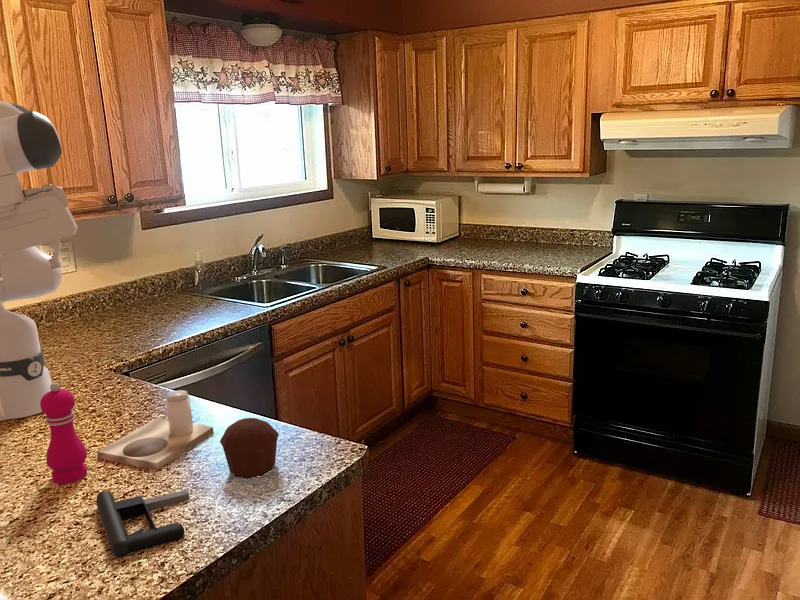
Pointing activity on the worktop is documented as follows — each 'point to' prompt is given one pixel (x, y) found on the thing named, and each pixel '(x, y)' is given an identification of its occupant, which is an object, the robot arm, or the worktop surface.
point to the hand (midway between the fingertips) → (28, 276)
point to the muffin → (250, 447)
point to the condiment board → (153, 445)
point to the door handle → (132, 508)
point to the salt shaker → (179, 413)
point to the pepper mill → (63, 437)
